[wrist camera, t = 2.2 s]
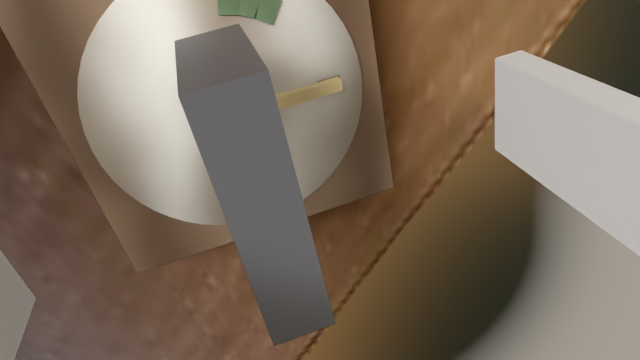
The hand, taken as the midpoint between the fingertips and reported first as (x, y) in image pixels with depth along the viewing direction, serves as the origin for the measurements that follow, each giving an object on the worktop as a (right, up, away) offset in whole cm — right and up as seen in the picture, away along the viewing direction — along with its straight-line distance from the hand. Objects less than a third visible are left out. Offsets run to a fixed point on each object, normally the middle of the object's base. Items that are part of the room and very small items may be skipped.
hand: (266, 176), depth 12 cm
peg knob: (-1, +4, +12) cm, 13 cm away
